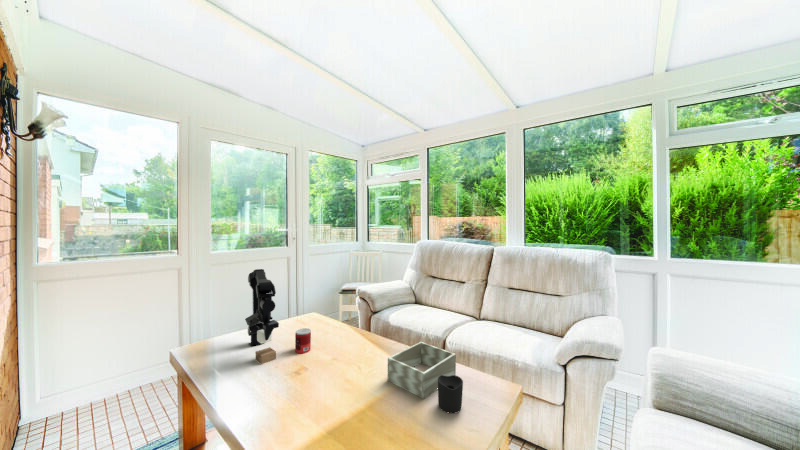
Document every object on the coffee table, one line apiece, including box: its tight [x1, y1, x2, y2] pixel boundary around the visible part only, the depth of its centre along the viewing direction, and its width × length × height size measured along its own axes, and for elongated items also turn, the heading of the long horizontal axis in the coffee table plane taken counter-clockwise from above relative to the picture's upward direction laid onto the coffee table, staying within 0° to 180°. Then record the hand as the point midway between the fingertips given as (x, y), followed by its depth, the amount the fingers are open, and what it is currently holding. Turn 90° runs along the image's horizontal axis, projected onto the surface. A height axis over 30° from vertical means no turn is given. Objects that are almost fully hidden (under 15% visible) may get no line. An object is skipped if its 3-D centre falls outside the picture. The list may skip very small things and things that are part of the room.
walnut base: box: [255, 347, 277, 365], centre depth 146 cm, size 7×7×4 cm
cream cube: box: [257, 329, 273, 345], centre depth 145 cm, size 5×5×5 cm
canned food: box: [294, 327, 312, 355], centre depth 156 cm, size 8×8×11 cm
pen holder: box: [437, 374, 464, 414], centre depth 111 cm, size 9×9×10 cm
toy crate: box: [387, 341, 457, 400], centre depth 131 cm, size 20×24×10 cm
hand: (264, 338), depth 145 cm, fingers closed on cream cube, 5 cm apart
